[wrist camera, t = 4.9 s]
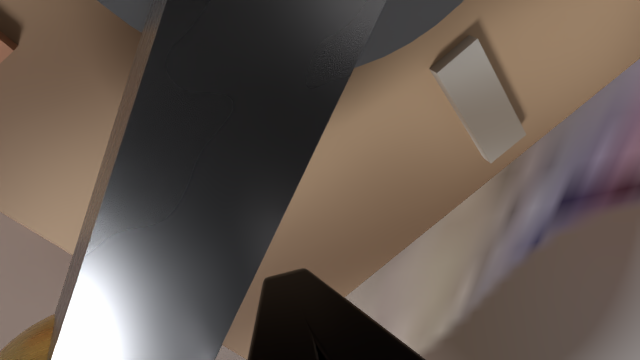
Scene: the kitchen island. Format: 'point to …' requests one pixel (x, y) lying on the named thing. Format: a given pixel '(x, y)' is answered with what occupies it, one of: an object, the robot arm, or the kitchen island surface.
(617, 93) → the kitchen island surface
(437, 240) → the kitchen island surface
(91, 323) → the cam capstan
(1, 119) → the stand
